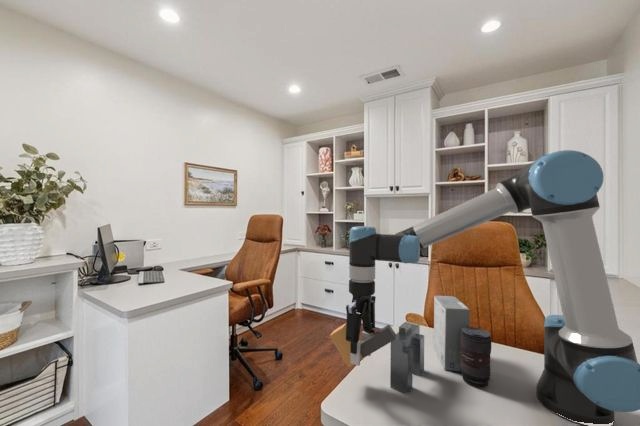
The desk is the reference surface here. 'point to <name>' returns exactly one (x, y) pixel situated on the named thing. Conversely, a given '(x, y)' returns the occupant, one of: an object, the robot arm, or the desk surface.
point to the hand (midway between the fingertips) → (360, 358)
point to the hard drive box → (449, 330)
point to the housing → (406, 357)
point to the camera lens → (475, 356)
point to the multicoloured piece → (362, 342)
